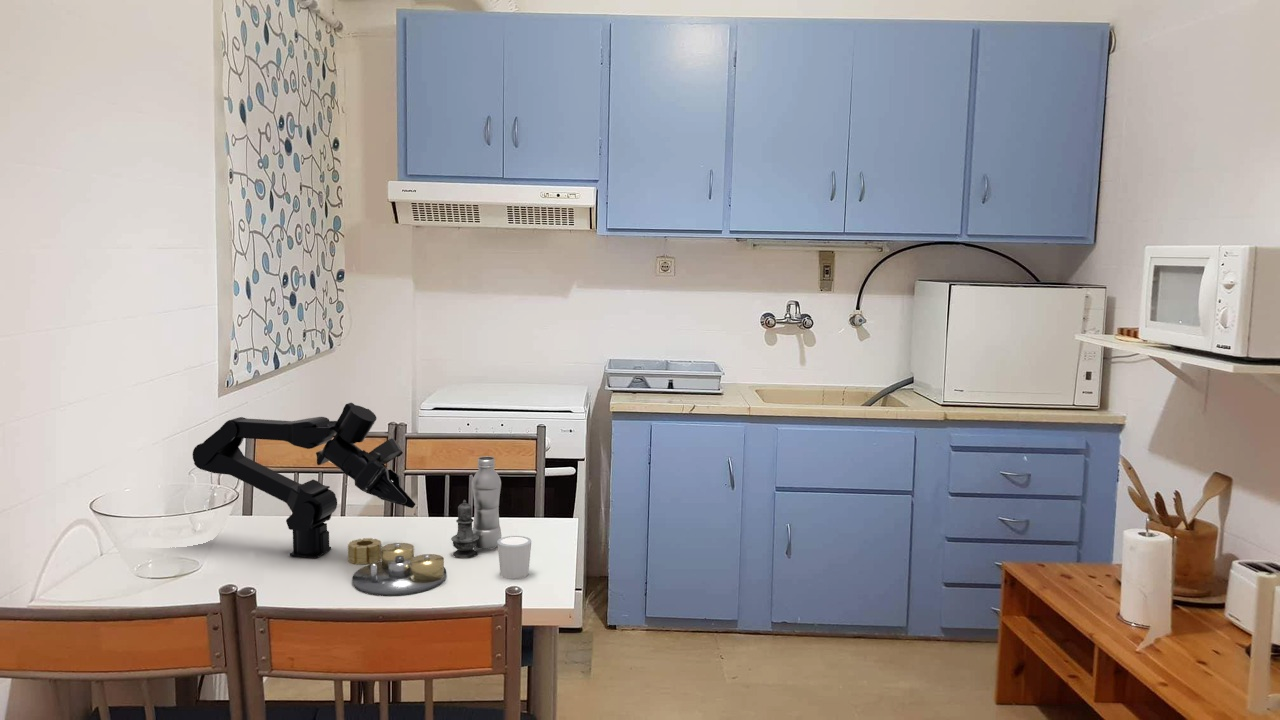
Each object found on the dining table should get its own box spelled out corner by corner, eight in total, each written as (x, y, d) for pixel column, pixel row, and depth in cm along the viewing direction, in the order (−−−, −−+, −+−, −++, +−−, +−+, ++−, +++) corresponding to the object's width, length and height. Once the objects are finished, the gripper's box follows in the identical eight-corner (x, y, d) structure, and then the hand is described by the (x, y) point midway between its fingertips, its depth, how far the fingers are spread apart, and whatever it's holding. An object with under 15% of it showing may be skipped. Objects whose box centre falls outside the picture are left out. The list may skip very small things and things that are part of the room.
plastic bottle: (498, 541, 211) (498, 454, 209) (504, 551, 205) (503, 460, 202) (469, 544, 209) (469, 455, 207) (474, 554, 203) (473, 462, 200)
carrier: (335, 591, 180) (334, 564, 180) (378, 560, 198) (377, 535, 197) (424, 599, 177) (423, 572, 176) (460, 567, 195) (459, 542, 194)
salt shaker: (473, 559, 199) (472, 504, 198) (446, 557, 200) (446, 502, 199) (483, 550, 205) (482, 496, 203) (457, 548, 206) (457, 494, 205)
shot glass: (493, 570, 193) (493, 537, 192) (526, 566, 196) (526, 533, 195) (502, 581, 187) (502, 547, 186) (535, 577, 190) (535, 543, 189)
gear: (343, 559, 198) (342, 543, 198) (369, 552, 203) (369, 536, 202) (360, 566, 194) (360, 550, 193) (387, 559, 199) (386, 543, 198)
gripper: (365, 421, 190) (426, 466, 188) (385, 436, 208) (441, 478, 206) (329, 465, 187) (390, 512, 186) (352, 477, 205) (409, 519, 204)
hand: (409, 504), depth 195 cm, fingers open, 9 cm apart
